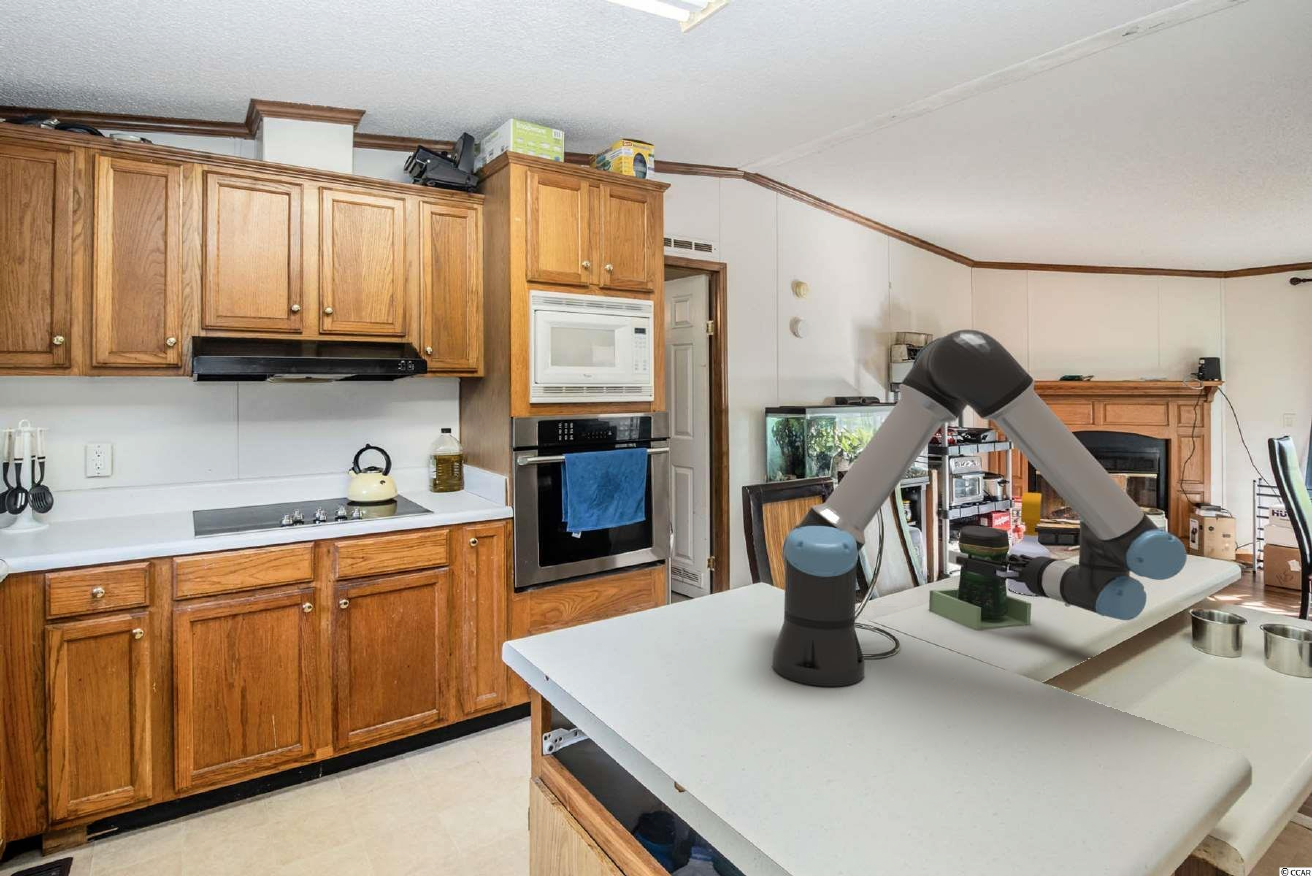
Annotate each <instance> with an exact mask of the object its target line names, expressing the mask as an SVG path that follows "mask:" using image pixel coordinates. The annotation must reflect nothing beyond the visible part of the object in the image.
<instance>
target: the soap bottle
mask: <svg viewBox="0 0 1312 876" xmlns="http://www.w3.org/2000/svg"><path fill="white" fill-rule="evenodd" d="M1042 494H1043V493H1040V492H1039V493H1038V492H1022V496H1021V507H1020V508H1021V509H1020V510H1021V512H1020V523H1024V526H1026V530H1025V531H1022V540H1021V541H1019V542H1017V543H1015V544H1013V545H1012V546H1010V548H1009V551H1008V554H1009V556H1010V555H1012V554H1015V555H1017V556H1019V557H1020V555H1021V554H1024V555H1026V556H1029V557H1032V558H1036V557H1039V556H1044V557H1049V558H1052V557H1051V556H1052V555H1051V552H1050V550H1049V549H1048V548H1047V547H1046V546H1044V545H1043V544H1041V543H1040V542H1039V532H1037V531H1036V532H1035V530H1036V529H1035V528H1037V527H1038V525H1041V523H1042V521H1041V506H1042V496H1043V495H1042ZM1007 588H1009V589H1010V590H1013V591H1015V592H1018V593H1023V594H1027V595H1026V596H1029V595H1037V594H1034V593H1032V592H1031V591H1030V590H1029V589H1028V588H1027V586H1026V584H1025V583H1021V582H1016V581H1015V580H1012V579H1007ZM1009 589H1008V590H1009ZM1010 590H1009V591H1010ZM1015 592H1014V593H1015ZM1018 593H1017V594H1018ZM1023 594H1022V595H1023ZM1038 597H1041V596H1040V595H1039V596H1038Z"/></svg>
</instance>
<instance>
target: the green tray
mask: <svg viewBox="0 0 1312 876" xmlns="http://www.w3.org/2000/svg"><path fill="white" fill-rule="evenodd" d="M958 588H959V587H958ZM958 588H957V587H956V588H948V589H947V588H946V589H944V588H943V589H934V590H933V589H932V590H929V602H928V603H929V604H928V605H929V606H928V611H929V612H930V613H931V612H932V613H934V614H936V615H939V616H941V617H944V618H946V619H949V620H951V621H954V622H955V623H958V624H961V625H963V626H966V627H968V628H971V629H973V630H976V631H979V630H981V631H982V630H988V629H998V628H1009V627H1018V626H1029V625H1031V618H1032V616H1031V615H1032V614H1031V613H1032V603H1031V602H1029V601H1025V600H1023V599H1020V598H1016V597H1013V596H1010V595H1008V594H1007V604H1008V611H1007V614H1006V615H1005V616H1003V617H993V618H992V617H983V616H981V607H978V606H975V605H972V604H970V603H967V602H964V601H961V600H959V599H957V596H958Z"/></svg>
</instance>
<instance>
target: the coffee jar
mask: <svg viewBox="0 0 1312 876" xmlns="http://www.w3.org/2000/svg"><path fill="white" fill-rule="evenodd" d="M1009 539H1010V538H1009V533H1008V531H1007V530H1006V529H1004V528H1003V529H1001V528H996V527H990V526H980V525H967V526H962V527H961V530H960V533H959V538H958V548H959V552H961V553H965V554H972V556H974V558H979V559H986V560H992V561H998V562H1003V561H1005V559H1006V555H1007V554H1009V551H1010V540H1009ZM1006 581H1007V580H1006ZM1006 581H1002V580H999V579H996V578H993V577H989V576H984V575H980V574H976V573H972V572H967V571H963V567H962V566H960V572H959V582H958V596H957V599H959V600H961V601H964V602H967V603H970V604H972V605H975V606H978V607H981V616H983V617H992V618H993V617H1003V616H1005V615H1006V614H1007V611H1008V604H1007V595H1008V593H1007V592H1008V591H1007V583H1006Z"/></svg>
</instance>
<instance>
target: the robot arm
mask: <svg viewBox="0 0 1312 876" xmlns="http://www.w3.org/2000/svg"><path fill="white" fill-rule="evenodd" d="M898 387H899V388H898V389H899V393H900V398H899V400H898V401H897V402H896V404H895V405H894V406H893V408H892V409H891V411H890V412H889V414H888V415H887V416H886V418H885V419H884V420H883V421H882V422H881V425H880V426H879V428H878V429H877V430H876V431H875V433H874V434H873V436H871V439H870V440H869V441H868V442H867V444H866V446H865V447H864V448H863V450H862V451H861V452H860V454H859V455H858V456H857V458H856V459H855V461H854V462H853V464H852V465H851V466H850V467H849V469H848V471H846V473H845V475H844V476H843V478H841V480H840V482H839V483H838V484H837V486H836V487H835V488H834V489H833V491H832V492H831V494H830V495H829V496H828V498H827V499H826V500H825V502H823V503H821V504H814V505H812V506H811V507H810V509H809V510H808V511H807V513H806V515H804V517H803V518H802V520H801V521H800V523H798V524H797V525H795V526H794V527H793V528H792V529H791V530H790V531H789V532H788V534H787V535H786V537H785V539H784V541H783V545H782V552H781V553H782V560H783V565H784V576H785V577H784V605H783V606H784V608H783V609H784V612H783V614H784V617H783V623H782V626H781V629H780V632H779V634H778V637H777V640H776V643H775V645H774V646H775V647H774V649H773V652H772V668H773V670H774V671H775V672H776V673H777V674H779V675H780V676H781V677H784V678H786V679H789V680H791V681H794V682H797V683H801V684H805V685H810V686H819V687H842V686H849V685H853V684H857V683H859V682H860V681H862V680H863V678H864V677H865V663H866V662H865V659H864V655H863V651H862V648H861V645H860V642H859V638H858V634H857V632H856V627H855V626H856V625H855V622H856V596H857V595H856V592H857V591H856V590H857V562H858V559H859V553H860V551H861V549H862V548H863V547H864V546H865V544H866V538H865V530H866V528H868V526H869V525H870V523H871V522H872V520H873V519H874V518H875V516H876V515H877V513H878V512H879V511H880V509H881V508H882V507H883V505H884V504H885V502H886V501H887V500H888V499H889V497H890V496H891V494H892V493H893V492H894V490H896V487H898V485H899V484H900V483H901V481H902V480H903V478H904V477H905V475H906V474H907V473H908V471H909V470H910V468H911V467H912V466H913V464H914V463H915V461H917V459H918V458H919V456H920V455H921V453H922V452H923V451H924V450H925V448H927V447H926V446H927V445H929V443H930V442H931V440H932V438H933V437H934V436H935V435H936V433H937V432H938V430H939V429H940V428H941V427H942V426H943V425H944V424H946V423H952V422H956V421H957V419H958V418H959V417H960V416H961V414H962V413H963V411H964V410H965V409H966V408H967V406H969V408H971V409H972V410H973V411H974V412H975V413H976V414H977V415H978V416H979V418H980V419H981V420H986V421H987V420H988V421H993V423H994V424H995V426H997V428H998V429H999V430H1001V433H1003V434H1004V435H1005V436H1006V438H1007V439H1008V440H1009V441H1010V442H1011V444H1013V445H1014V446H1015V448H1017V450H1018V451H1019V452H1020V453H1021V455H1023V456H1024V458H1025V459H1026V460H1028V462H1029V463H1030V464H1031V465H1032V466H1033V467H1034V468H1035V469H1036V471H1037V472H1038V473H1039V474H1040V475H1041V476H1042V477H1043V478H1044V480H1046V482H1047V483H1048V484H1049V485H1050V486H1051V488H1052V489H1054V491H1055V492H1056V493H1057V494H1058V495H1059V496H1060V498H1062V499H1063V501H1064V502H1065V503H1066V504H1067V505H1068V506H1069V507H1070V508H1071V509H1072V510H1073V512H1074V513H1075V514H1076V515H1077V516H1078V517H1079V519H1080V520H1079V523H1078V524H1079V546H1078V547H1079V549H1078V550H1079V554H1078V555H1079V556H1078V564H1077V563H1074V562H1070V561H1066V560H1061V559H1060V560H1059V559H1056V558H1052V557H1051V558H1049V557H1044V556H1039V557H1036V558H1032V557H1029V556H1026V555H1024V554H1021V555H1020V557H1019V556H1017V555H1015V554H1012V555H1010V556H1009V553H1007V555H1006V559H1005V561H1003V562H998V561H992V560H986V559H979V558H974V556H972V554H965V553H961V552H960V551H956V550H953V549H948V559H947V562H948V563H950V564H953V565H957V566H959V567H961V566H962V567H963V571H967V572H972V573H976V574H980V575H984V576H989V577H993V578H996V579H999V580H1002V581H1007V580H1008V579H1012V580H1015V581H1016V582H1021V583H1025V584H1026V586H1027V588H1028V589H1029V590H1030V591H1031V592H1032V593H1034V594H1037V595H1040V596H1039V597H1043V598H1047V599H1051V600H1055V601H1057V602H1061V603H1063V604H1064V606H1065V607H1071V606H1074V607H1077V608H1079V609H1082V610H1085V611H1088V612H1091V613H1095V614H1097V615H1099V616H1102V617H1108V618H1112V619H1115V620H1116V619H1117V620H1119V621H1130V620H1131V621H1132V620H1133V619H1136V618H1137V617H1138V616H1140V615H1141V613H1142V612H1143V611H1144V609H1145V607H1146V602H1147V592H1146V591H1145V586H1144V584H1143V583H1142V582H1141V581H1140V580H1138V579H1137V578H1134V577H1133V576H1131V575H1130V574H1131V572H1132V573H1133V574H1134V575H1136V576H1139V577H1143V578H1147V579H1151V580H1156V581H1163V580H1168V579H1171V578H1173V577H1175V576H1177V575H1178V574H1179V573H1180V572H1182V570H1183V569H1184V567H1185V565H1186V562H1187V550H1186V547H1185V545H1184V543H1183V542H1182V541H1181V540H1180V539H1179V538H1178V537H1177V536H1175V535H1173V534H1172V533H1170V532H1169V531H1167V530H1164V529H1160V528H1159V527H1158V526H1157V525H1156V523H1155V522H1154V521H1153V520H1152V519H1151V518H1150V517H1149V516H1148V515H1147V514H1146V513H1145V512H1144V511H1143V510H1142V509H1141V507H1140V506H1139V505H1138V504H1137V503H1136V502H1135V501H1134V500H1133V498H1131V496H1130V495H1128V493H1127V492H1126V491H1125V490H1124V489H1123V487H1121V486H1120V485H1119V483H1118V482H1117V481H1116V480H1115V479H1114V478H1113V477H1112V475H1111V474H1110V473H1109V472H1108V471H1107V470H1106V469H1105V468H1104V466H1103V465H1101V463H1100V462H1099V461H1098V460H1097V459H1096V458H1095V456H1093V454H1091V452H1090V451H1089V450H1088V449H1087V448H1086V446H1085V445H1083V444H1082V442H1081V441H1080V440H1079V439H1078V438H1077V437H1076V436H1075V435H1074V433H1073V432H1072V431H1071V430H1070V429H1069V427H1067V425H1066V424H1064V423H1063V421H1062V420H1061V419H1060V418H1059V417H1058V416H1057V414H1055V413H1054V411H1053V410H1052V409H1051V408H1050V407H1049V405H1047V404H1046V402H1045V401H1044V400H1043V398H1041V397H1040V395H1038V394H1037V393H1036V390H1034V388H1035V380H1034V378H1032V376H1031V375H1030V374H1029V373H1028V372H1027V371H1026V370H1025V368H1024V367H1023V366H1022V365H1021V364H1020V363H1019V362H1018V361H1017V360H1016V358H1015V357H1014V356H1013V355H1012V354H1011V353H1010V352H1009V351H1008V350H1007V349H1006V348H1005V347H1004V346H1003V345H1002V344H1001V343H1000V342H999V341H998V340H996V338H994V337H993V336H992V335H989V334H988V333H985V332H982V331H979V330H976V329H975V330H974V329H961V330H956V331H953V332H951V333H948V334H947V335H945V336H942V337H938V338H935V339H934V340H932V341H930V342H928V343H927V344H925V345H924V346H923V347H922V348H921V349H920V351H918V353H917V354H916V356H915V358H914V361H913V364H912V365H911V368H910V370H909V371H908V373H907V374H906V375H905V377H904V379H903V380H902V381H901V383H900V384H899V386H898Z"/></svg>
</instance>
